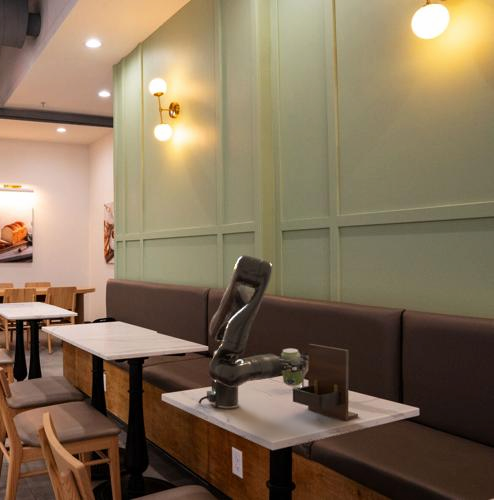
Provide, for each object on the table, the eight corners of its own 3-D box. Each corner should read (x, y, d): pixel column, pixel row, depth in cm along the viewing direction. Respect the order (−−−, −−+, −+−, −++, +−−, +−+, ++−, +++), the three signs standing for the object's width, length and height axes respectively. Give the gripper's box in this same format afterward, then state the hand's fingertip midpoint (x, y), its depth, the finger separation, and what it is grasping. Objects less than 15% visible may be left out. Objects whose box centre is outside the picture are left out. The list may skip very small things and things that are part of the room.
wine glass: (307, 392, 212) (307, 356, 212) (289, 388, 218) (289, 353, 218) (316, 389, 218) (316, 353, 218) (298, 385, 223) (298, 351, 224)
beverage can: (305, 384, 172) (305, 349, 172) (296, 388, 166) (296, 351, 166) (287, 381, 176) (287, 346, 176) (277, 385, 171) (278, 349, 171)
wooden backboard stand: (325, 426, 169) (326, 353, 169) (288, 414, 181) (288, 346, 182) (358, 417, 179) (358, 348, 179) (320, 406, 192) (320, 342, 192)
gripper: (281, 359, 157) (315, 354, 167) (246, 351, 169) (279, 347, 179) (280, 383, 157) (315, 377, 167) (245, 374, 169) (279, 368, 179)
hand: (296, 361), depth 173 cm, fingers closed on beverage can, 6 cm apart
